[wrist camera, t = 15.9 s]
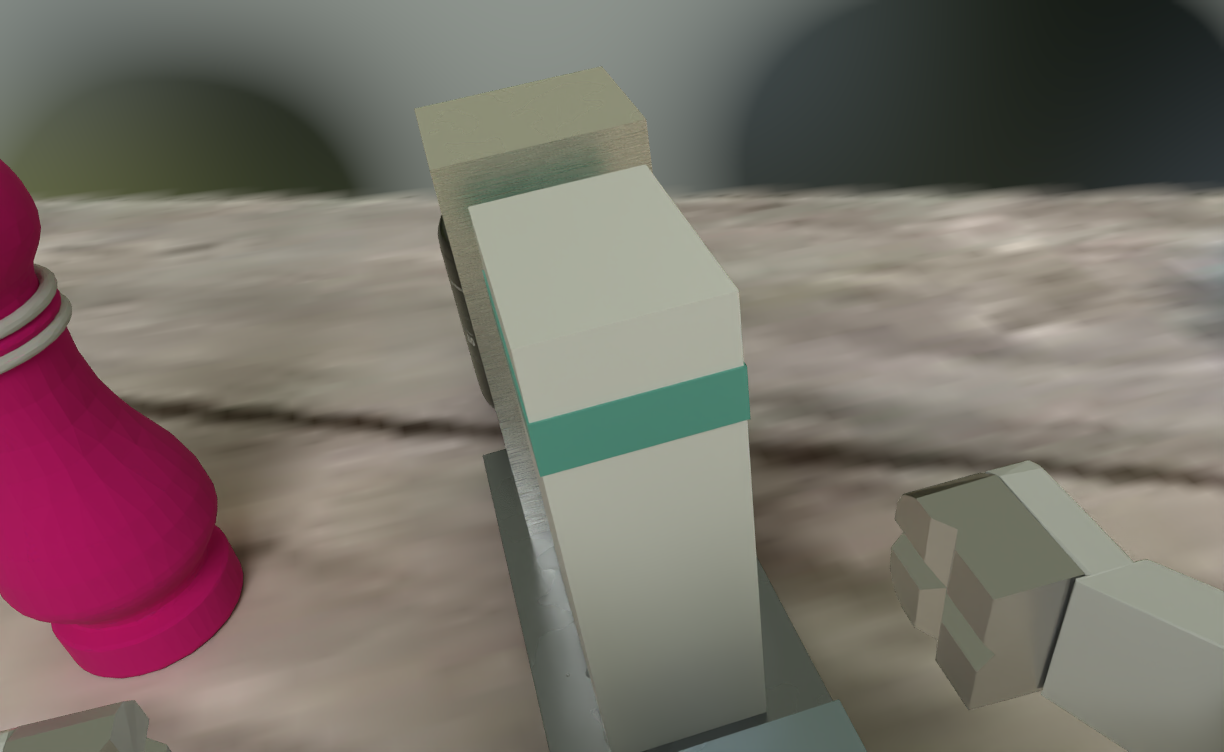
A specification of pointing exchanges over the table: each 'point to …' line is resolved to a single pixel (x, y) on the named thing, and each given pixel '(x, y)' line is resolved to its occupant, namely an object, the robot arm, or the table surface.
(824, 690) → the rail
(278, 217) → the table surface
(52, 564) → the pepper mill
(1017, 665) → the robot arm
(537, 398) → the module
